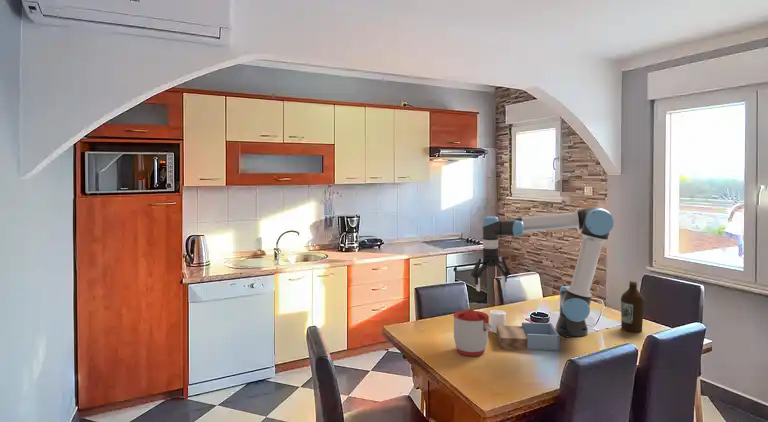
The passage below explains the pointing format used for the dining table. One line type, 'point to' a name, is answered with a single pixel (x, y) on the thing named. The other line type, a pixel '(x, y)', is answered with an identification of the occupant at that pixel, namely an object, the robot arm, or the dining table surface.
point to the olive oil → (632, 309)
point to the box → (541, 336)
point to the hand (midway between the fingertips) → (490, 289)
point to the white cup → (497, 319)
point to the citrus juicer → (471, 332)
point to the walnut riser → (511, 337)
